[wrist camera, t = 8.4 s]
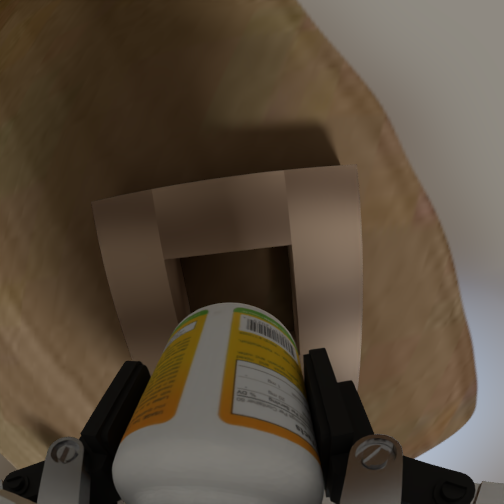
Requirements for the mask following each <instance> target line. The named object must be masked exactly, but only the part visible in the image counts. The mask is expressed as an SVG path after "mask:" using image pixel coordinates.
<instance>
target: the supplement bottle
mask: <svg viewBox="0 0 504 504" xmlns="http://www.w3.org/2000/svg"><path fill="white" fill-rule="evenodd" d="M112 476H113V482H114V485H115V488H116V490H117V492H118V494H119V495H120V497H121V499H122V500H123V501H124V502H125V503H126V504H322V501H323V497H324V482H323V472H322V468H321V462H320V457H319V453H318V448H317V442H316V437H315V432H314V427H313V422H312V417H311V412H310V408H309V403H308V398H307V392H306V388H305V383H304V378H303V374H302V369H301V364H300V360H299V355H298V351H297V348H296V345H295V342H294V340H293V338H292V336H291V334H290V333H289V331H288V330H287V329H286V327H285V326H284V325H283V324H282V323H281V322H280V321H279V320H278V319H277V318H275V317H274V316H273V315H271V314H269V313H268V312H266V311H264V310H262V309H259V308H257V307H254V306H251V305H247V304H242V303H218V304H213V305H209V306H206V307H203V308H200V309H198V310H196V311H195V312H193V313H191V314H190V315H188V316H187V317H186V318H184V319H183V320H182V321H181V322H180V323H179V324H178V326H177V327H176V328H175V330H174V332H173V333H172V335H171V337H170V339H169V340H168V343H167V345H166V347H165V349H164V351H163V353H162V355H161V357H160V359H159V361H158V363H157V366H156V368H155V370H154V372H153V374H152V376H151V378H150V380H149V382H148V384H147V386H146V389H145V391H144V393H143V395H142V397H141V399H140V401H139V403H138V406H137V408H136V410H135V412H134V414H133V416H132V418H131V421H130V423H129V425H128V427H127V429H126V431H125V433H124V435H123V438H122V440H121V442H120V445H119V447H118V450H117V453H116V455H115V458H114V462H113V466H112Z"/></svg>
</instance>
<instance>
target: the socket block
mask: <svg viewBox="0 0 504 504" xmlns="http://www.w3.org/2000/svg"><path fill="white" fill-rule="evenodd" d="M91 204H92V210H93V215H94V221H95V226H96V231H97V236H98V241H99V246H100V250H101V255H102V259H103V263H104V268H105V272H106V276H107V280H108V284H109V287H110V291H111V295H112V298H113V302H114V305H115V309H116V312H117V315H118V319H119V322H120V325H121V328H122V331H123V335H124V338H125V341H126V344H127V347H128V349H129V352H130V355H131V358H132V361H141V362H142V363H143V365H146V366H147V368H148V370H149V373H150V376H152V374H153V372H154V370H155V368H156V366H157V363H158V361H159V359H160V357H161V355H162V353H163V351H164V349H165V347H166V345H167V343H168V340H169V339H170V337H171V335H172V333H173V332H174V330H175V328H176V327H177V326H178V324H179V323H180V322H181V321H182V320H183V319H184V318H186V317H187V316H188V315H190V314H191V310H190V305H189V301H188V296H187V291H186V286H185V281H184V276H183V271H182V266H181V261H180V258H183V257H192V256H200V255H208V254H217V253H225V252H234V251H242V250H251V249H259V248H268V247H276V246H285V245H287V248H288V258H289V269H290V280H291V291H292V303H293V316H294V329H295V331H289V333H290V334H291V336H292V338H293V340H294V342H295V345H296V348H297V351H298V355H299V360H300V364H301V369H302V374H303V378H304V363H303V355H305V354H309V350H311V349H318V348H325V349H326V351H327V354H328V357H329V360H330V363H331V365H332V368H333V371H334V374H335V377H336V380H337V382H343V381H348V380H352V381H353V383H354V385H355V388H356V390H357V391H358V382H359V370H360V356H361V338H362V311H363V254H362V227H361V209H360V195H359V182H358V171H357V164H355V165H338V166H324V167H312V168H300V169H290V170H280V171H271V172H262V173H253V174H245V175H238V176H230V177H223V178H216V179H209V180H202V181H196V182H190V183H184V184H178V185H172V186H166V187H161V188H155V189H150V190H144V191H139V192H134V193H129V194H124V195H119V196H115V197H110V198H105V199H101V200H97V201H92V202H91Z"/></svg>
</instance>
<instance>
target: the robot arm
mask: <svg viewBox="0 0 504 504" xmlns="http://www.w3.org/2000/svg"><path fill="white" fill-rule="evenodd" d="M303 363H304V383H305V388H306V392H307V398H308V403H309V408H310V412H311V417H312V422H313V427H314V432H315V437H316V442H317V448H318V453H319V457H320V462H321V468H322V472H323V482H324V490H325V494H326V498H327V497H330V501H331V502H333V503H335V504H504V484H503V483H494V482H486V481H482V483H481V484H477V483H474V482H473V480H472V479H471V478H470V477H469V476H467V475H466V474H463V473H461V472H457V471H453V470H449V469H445V468H442V467H438V466H435V465H431V464H428V463H425V462H421V461H418V460H415V459H412V458H409V457H406V456H403V451H402V447H401V445H400V444H399V442H398V441H397V440H395V439H394V438H393V437H390V436H387V435H382V434H374V432H373V430H372V427H371V425H370V422H369V420H368V417H367V415H366V412H365V410H364V407H363V405H362V402H361V400H360V397H359V395H358V392H357V390H356V388H355V385H354V383H353V381H352V380H348V381H343V382H337V380H336V377H335V374H334V371H333V368H332V365H331V363H330V360H329V357H328V354H327V351H326V349H325V348H318V349H311V350H309V354H305V355H303ZM150 378H151V376H150V373H149V370H148V368H147V366H146V365H143V363H142V362H141V361H126V362H125V363H124V364H123V366H122V367H121V369H120V370H119V372H118V374H117V375H116V377H115V378H114V380H113V381H112V383H111V385H110V386H109V388H108V389H107V391H106V393H105V394H104V396H103V397H102V399H101V401H100V402H99V404H98V405H97V407H96V409H95V410H94V412H93V414H92V415H91V417H90V419H89V420H88V422H87V423H86V425H85V427H84V428H83V430H82V432H81V437H80V439H79V440H78V439H77V438H74V437H64V438H61V439H58V440H56V441H55V442H54V443H52V444H51V446H50V447H49V449H48V451H47V455H46V459H45V461H42V462H39V463H36V464H34V465H31V466H28V467H25V468H22V469H19V470H16V471H14V472H12V473H10V474H9V475H8V476H6V478H5V480H4V482H3V481H2V480H0V504H124V501H123V500H122V499H121V497H120V495H119V494H118V492H117V490H116V488H115V485H114V482H113V476H112V466H113V462H114V458H115V455H116V453H117V450H118V447H119V445H120V442H121V440H122V438H123V435H124V433H125V431H126V429H127V427H128V425H129V423H130V421H131V418H132V416H133V414H134V412H135V410H136V408H137V406H138V403H139V401H140V399H141V397H142V395H143V393H144V391H145V389H146V386H147V384H148V382H149V380H150Z"/></svg>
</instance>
